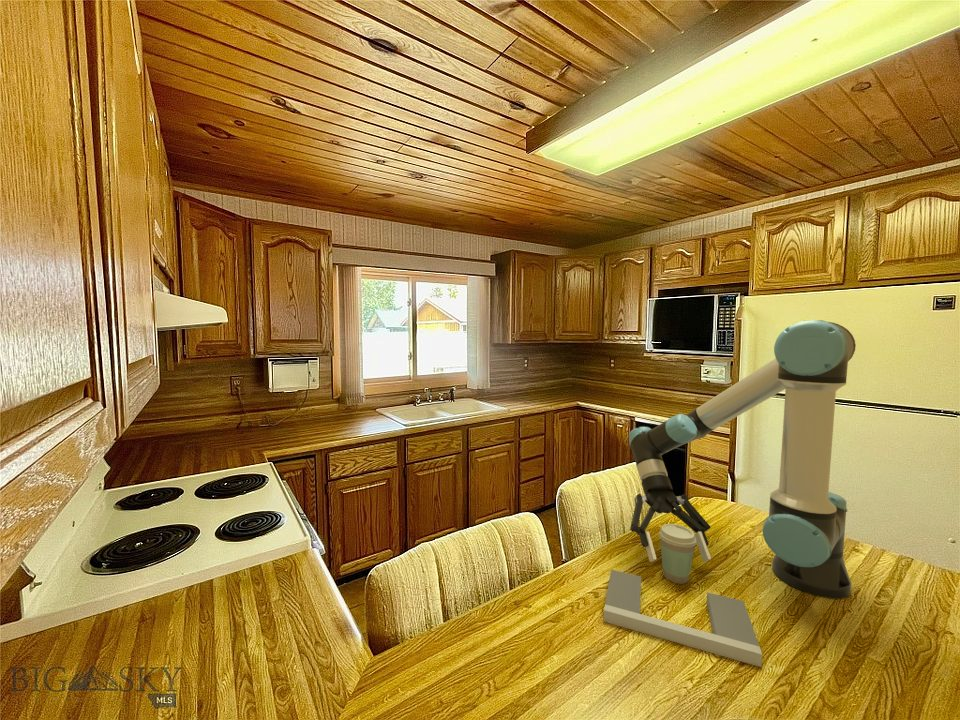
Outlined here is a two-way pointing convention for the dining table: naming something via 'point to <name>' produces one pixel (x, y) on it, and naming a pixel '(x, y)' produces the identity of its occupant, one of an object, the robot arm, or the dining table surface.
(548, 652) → the dining table surface
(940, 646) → the dining table surface
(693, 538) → the coffee cup
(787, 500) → the robot arm
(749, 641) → the u-shaped bracket
